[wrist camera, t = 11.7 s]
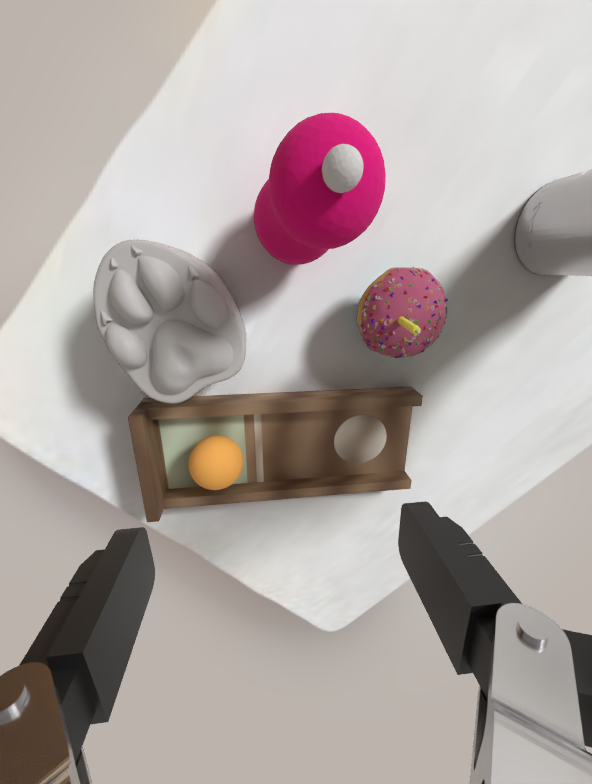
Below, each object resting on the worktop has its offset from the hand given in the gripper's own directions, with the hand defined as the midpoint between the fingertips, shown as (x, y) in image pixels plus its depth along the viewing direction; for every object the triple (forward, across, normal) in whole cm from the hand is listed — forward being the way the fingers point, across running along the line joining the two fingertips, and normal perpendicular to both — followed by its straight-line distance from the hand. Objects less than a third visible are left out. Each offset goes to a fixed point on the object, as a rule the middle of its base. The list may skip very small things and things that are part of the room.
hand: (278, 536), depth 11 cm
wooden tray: (+27, -2, +11) cm, 29 cm away
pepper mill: (+28, -3, -12) cm, 30 cm away
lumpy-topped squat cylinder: (+27, +8, -4) cm, 29 cm away
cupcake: (+28, -13, -4) cm, 31 cm away
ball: (+23, +6, +11) cm, 26 cm away
